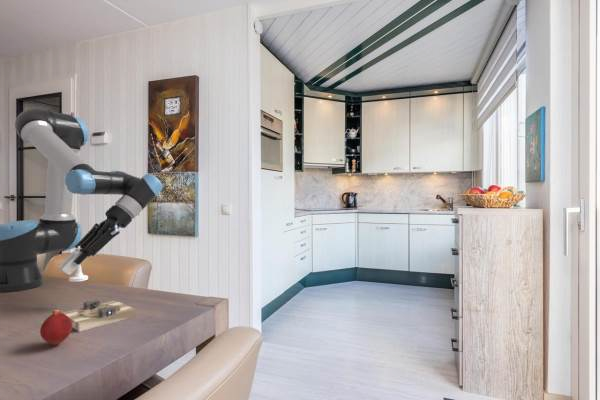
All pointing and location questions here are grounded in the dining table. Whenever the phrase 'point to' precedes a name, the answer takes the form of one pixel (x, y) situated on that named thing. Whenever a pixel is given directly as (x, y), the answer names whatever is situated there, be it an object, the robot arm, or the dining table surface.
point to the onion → (56, 328)
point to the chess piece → (78, 272)
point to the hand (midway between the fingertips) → (63, 271)
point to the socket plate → (99, 314)
